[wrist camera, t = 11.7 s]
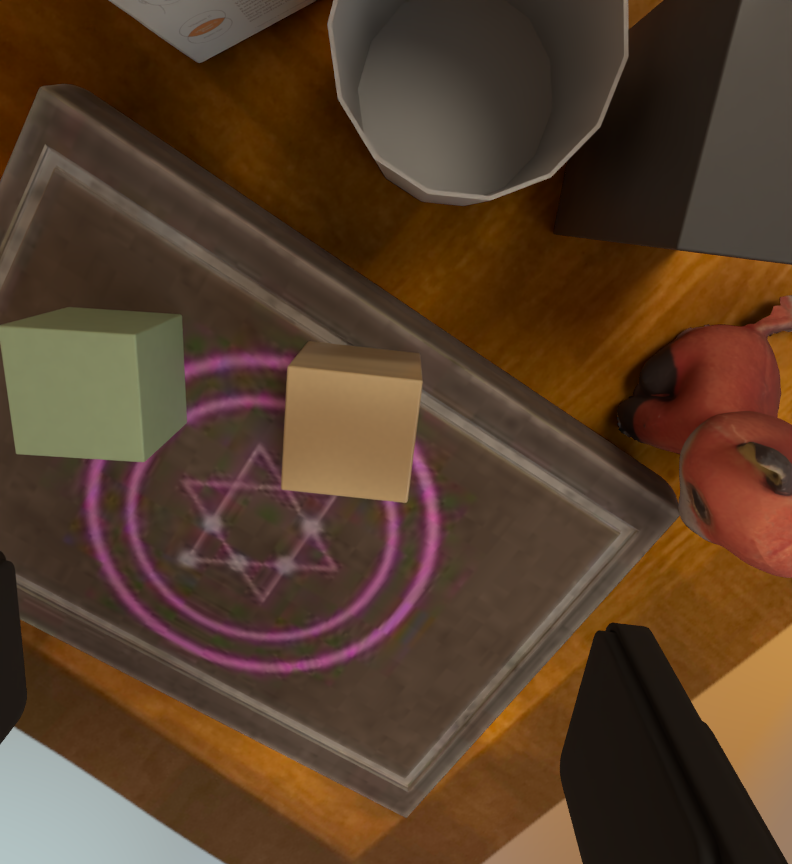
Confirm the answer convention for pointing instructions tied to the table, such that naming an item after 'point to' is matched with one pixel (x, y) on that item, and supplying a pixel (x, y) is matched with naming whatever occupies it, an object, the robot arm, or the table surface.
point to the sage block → (94, 382)
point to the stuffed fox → (723, 435)
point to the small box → (208, 21)
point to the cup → (475, 87)
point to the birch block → (351, 421)
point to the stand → (694, 136)
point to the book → (283, 509)
